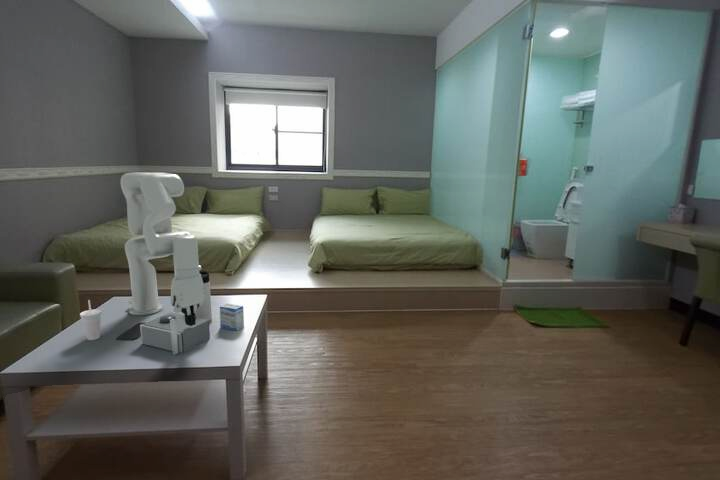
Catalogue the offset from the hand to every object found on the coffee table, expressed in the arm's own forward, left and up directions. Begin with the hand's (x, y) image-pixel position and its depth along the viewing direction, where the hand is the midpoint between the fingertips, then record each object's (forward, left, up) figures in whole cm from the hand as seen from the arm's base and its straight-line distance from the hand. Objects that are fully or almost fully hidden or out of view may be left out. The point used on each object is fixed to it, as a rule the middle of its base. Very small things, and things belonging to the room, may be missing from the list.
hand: (190, 324), depth 133 cm
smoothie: (-37, -8, -8) cm, 39 cm away
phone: (-28, +2, -9) cm, 30 cm away
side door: (-9, -6, -8) cm, 13 cm away
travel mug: (-12, +19, -8) cm, 24 cm away
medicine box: (+2, +19, -8) cm, 21 cm away
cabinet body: (-8, +2, -8) cm, 12 cm away
